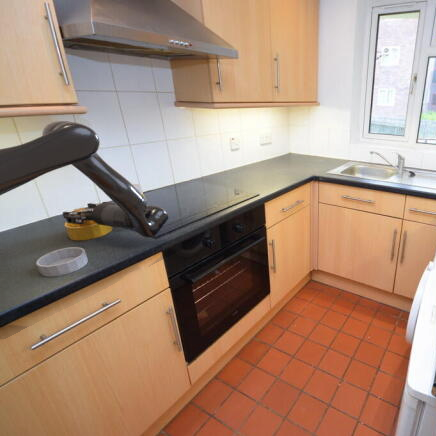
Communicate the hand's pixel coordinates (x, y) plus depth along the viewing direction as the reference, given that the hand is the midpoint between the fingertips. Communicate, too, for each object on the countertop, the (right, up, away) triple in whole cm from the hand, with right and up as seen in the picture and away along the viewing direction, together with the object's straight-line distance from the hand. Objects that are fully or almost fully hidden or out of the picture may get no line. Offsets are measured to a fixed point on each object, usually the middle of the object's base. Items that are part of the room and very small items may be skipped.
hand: (77, 210), depth 105 cm
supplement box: (+1, -9, +4) cm, 10 cm away
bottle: (+13, -5, +15) cm, 21 cm away
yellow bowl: (0, -8, +6) cm, 10 cm away
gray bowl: (+9, -18, -15) cm, 25 cm away
